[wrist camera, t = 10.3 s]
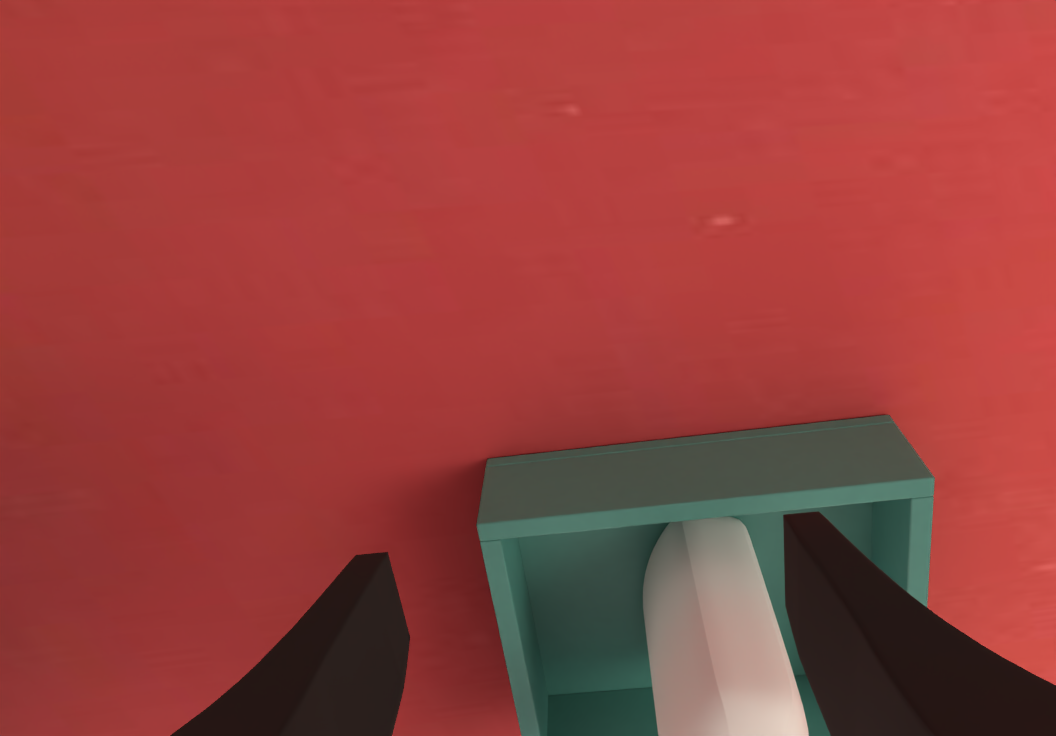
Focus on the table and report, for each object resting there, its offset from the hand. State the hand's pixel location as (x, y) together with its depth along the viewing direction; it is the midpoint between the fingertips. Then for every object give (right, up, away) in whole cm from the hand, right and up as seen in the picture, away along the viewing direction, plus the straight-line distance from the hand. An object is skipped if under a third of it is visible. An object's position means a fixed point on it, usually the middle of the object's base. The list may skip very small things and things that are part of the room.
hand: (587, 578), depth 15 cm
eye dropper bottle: (+4, -3, +12) cm, 13 cm away
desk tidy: (+4, -3, +13) cm, 14 cm away
